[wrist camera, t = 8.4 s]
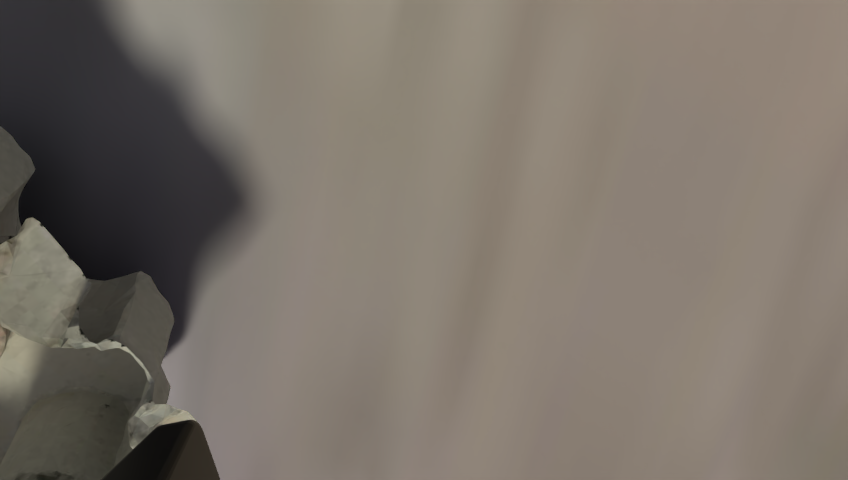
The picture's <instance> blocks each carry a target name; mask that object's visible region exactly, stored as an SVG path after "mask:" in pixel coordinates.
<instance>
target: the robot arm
mask: <svg viewBox="0 0 848 480" xmlns="http://www.w3.org/2000/svg"><path fill="white" fill-rule="evenodd" d="M101 480H220V478H219V474H218V472H217V469H216V466H215V463H214V460H213V458H212V455H211V452H210V449H209V446H208V444H207V441H206V438H205V435H204V432H203V430H202V428H201V426H200V425H199V423H198V422H196V421H195V420H185V421H179V422H174V423H169V424H164V425H160V426H158V427H156V428H155V429H154V430H153V431H152V432H151V433H149V434H148V435H147V436H146V437H145V438H144V439H143V440H142V441H141V442H140V443H139V444H138V445H137V446H136V447H135V448H134V449H132V450H131V451H130V452H129V453H128V454H127V455H126V456H125V457H124V458H123V459H122V460H121V461H120V462H119V463H118V464H116V465H115V466H114V467H113V468H112V469H111V470H110V471H109V472H108V473H107V474H106V475H105V476H104V477H103V478H102V479H101Z"/></svg>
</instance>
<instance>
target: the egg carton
mask: <svg viewBox="0 0 848 480" xmlns="http://www.w3.org/2000/svg"><path fill="white" fill-rule="evenodd" d="M34 171H35V167H34V165H33V162H32V160H31V158H30V156H29V155H28V154H27V153H26V152H25V151H23V150H22V149H21V148H20V147H19V145H18V144H17V143H16V141H15V140H14V138H13V137H12V135H10V134H9V133H8V132H7V131H6V130H4V129H3V128H2V127H1V126H0V480H101V479H102V478H103V477H104V476H105V475H106V474H107V473H108V472H109V471H110V470H111V469H112V468H113V467H114V466H115V465H116V464H118V463H119V462H120V461H121V460H122V459H123V458H124V457H125V456H126V455H127V454H128V453H129V452H130V451H131V450H132V449H134V448H135V447H136V446H137V445H138V444H139V443H140V442H141V441H142V440H143V439H144V438H145V437H146V436H147V435H148V434H149V433H151V432H152V431H153V430H154V429H155V428H156V427H158V426H160V425H164V424H169V423H174V422H179V421H185V420H195V419H194V418H193V417H192V416H191V415H190V414H189V413H188V412H187V411H183V410H180V409H177V408H174V407H172V406H170V405H167V404H166V403H167V400H168V396H169V391H170V385H169V383H168V381H167V378H166V376H165V374H164V372H163V369H162V367H161V364H162V360H163V357H164V355H165V353H166V350H167V346H168V341H169V337H170V333H171V330H172V327H173V324H174V317H173V313H172V310H171V308H170V305H169V302H168V301H167V300H166V299H165V298H164V297H163V296H162V295H161V293H160V292H159V291H158V289H157V287H156V286H155V284H154V282H153V280H152V278H151V277H150V276H149V275H147V274H145V273H144V272H142V271H139V272H136V273H132V274H129V275H126V276H123V277H119V278H114V279H110V280H106V281H101V280H93V279H87V278H86V277H85V275H84V274H83V272H82V271H81V269H80V268H79V267H78V266H77V265H76V264H75V263H74V262H73V261H72V260H71V258H70V257H69V256H68V254H67V253H66V252H65V251H64V249H63V248H62V247H61V246H60V245H59V243H58V242H57V241H56V240H55V239H54V238H53V237H52V235H51V234H50V233H49V232H48V231H47V230H46V228H45V227H44V226H43V225H42V224H41V223H40V222H39V221H37V220H36V219H34V218H32V217H31V218H28V219H26V220H25V221H24V223H23V225H22V227H21V224H20V220H19V212H18V205H19V198H20V195H21V192H22V190H23V188H24V187H25V185H26V183H27V182H28V180H29V179H30V177H31V176H32V174H33V173H34ZM195 421H196V420H195ZM196 422H197V421H196Z"/></svg>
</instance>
